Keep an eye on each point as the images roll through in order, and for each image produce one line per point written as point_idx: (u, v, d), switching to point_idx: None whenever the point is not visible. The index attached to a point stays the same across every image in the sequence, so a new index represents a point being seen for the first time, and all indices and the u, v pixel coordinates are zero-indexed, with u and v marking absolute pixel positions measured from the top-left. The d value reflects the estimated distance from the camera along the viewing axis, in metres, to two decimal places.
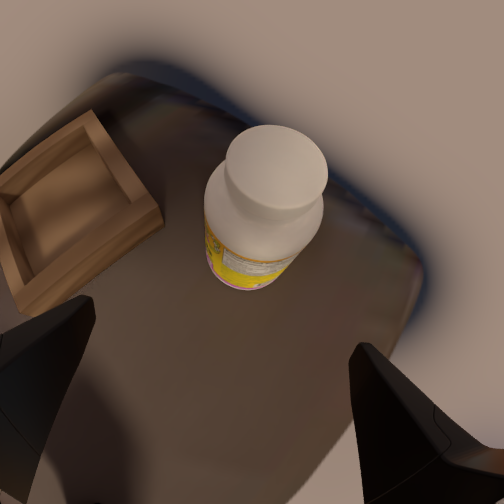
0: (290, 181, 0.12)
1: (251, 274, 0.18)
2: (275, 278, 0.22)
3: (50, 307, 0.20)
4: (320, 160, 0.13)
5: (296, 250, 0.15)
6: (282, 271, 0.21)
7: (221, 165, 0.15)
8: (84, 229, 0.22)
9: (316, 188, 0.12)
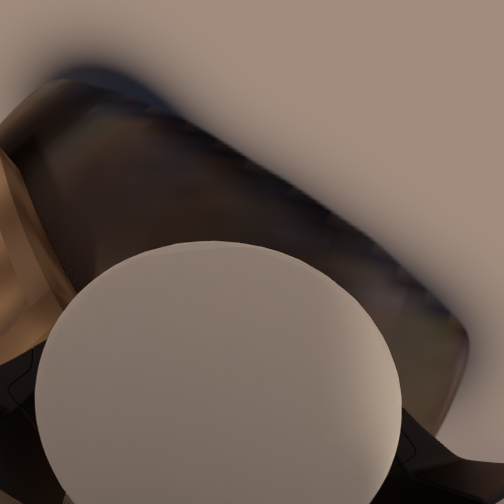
0: None
1: None
2: None
3: None
4: (384, 394, 0.03)
5: None
6: None
7: None
8: None
9: None
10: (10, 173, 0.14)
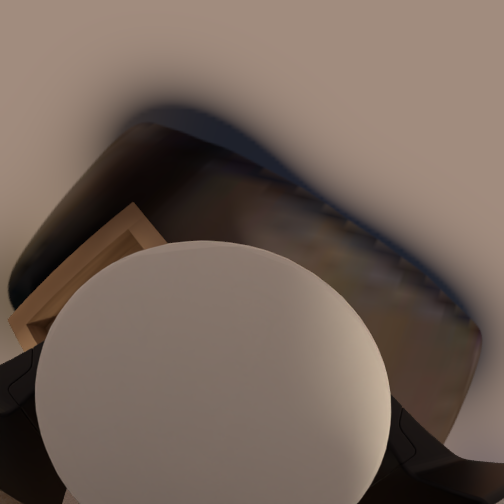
0: (249, 503, 0.03)
1: None
2: None
3: None
4: (372, 392, 0.03)
5: None
6: None
7: None
8: None
9: None
10: None
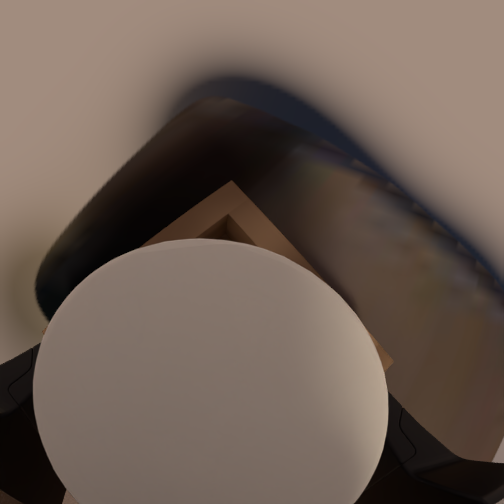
0: (245, 502, 0.03)
1: None
2: None
3: None
4: (369, 391, 0.03)
5: None
6: None
7: None
8: None
9: (335, 503, 0.03)
10: None
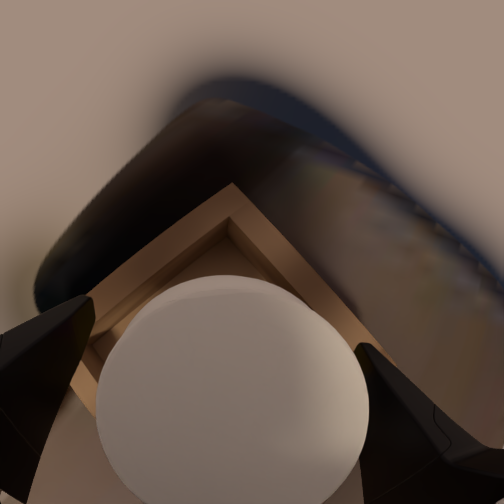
0: (266, 478, 0.04)
1: None
2: None
3: None
4: (355, 397, 0.04)
5: None
6: None
7: None
8: None
9: (330, 480, 0.04)
10: None
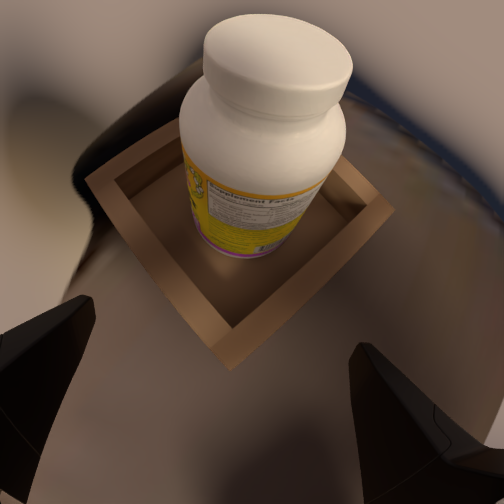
0: (300, 61, 0.07)
1: (249, 227, 0.13)
2: (282, 240, 0.17)
3: None
4: (339, 47, 0.08)
5: (313, 178, 0.10)
6: (291, 228, 0.15)
7: (203, 75, 0.10)
8: None
9: (339, 71, 0.07)
10: None
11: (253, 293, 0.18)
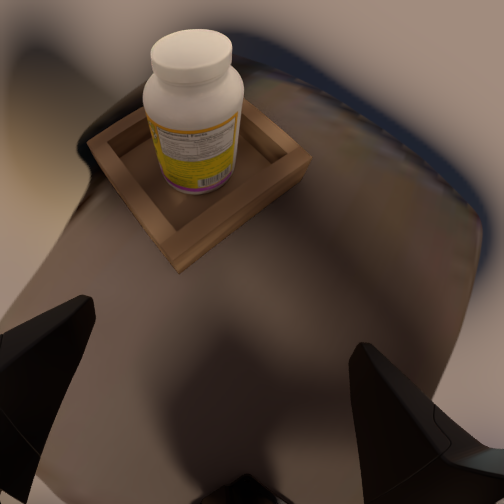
0: (197, 54, 0.13)
1: (186, 159, 0.19)
2: (219, 178, 0.23)
3: (194, 258, 0.23)
4: (226, 42, 0.14)
5: (214, 118, 0.16)
6: (222, 166, 0.21)
7: None
8: None
9: (218, 56, 0.13)
10: None
11: None
